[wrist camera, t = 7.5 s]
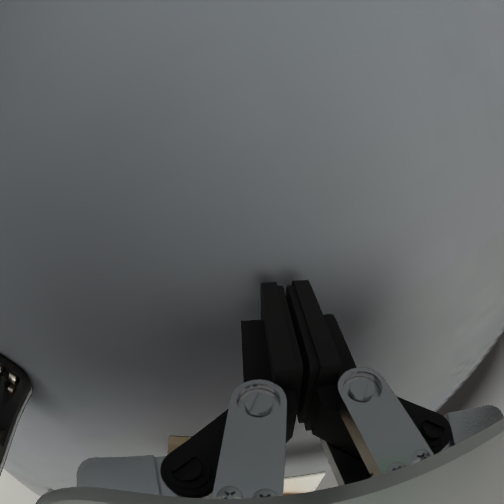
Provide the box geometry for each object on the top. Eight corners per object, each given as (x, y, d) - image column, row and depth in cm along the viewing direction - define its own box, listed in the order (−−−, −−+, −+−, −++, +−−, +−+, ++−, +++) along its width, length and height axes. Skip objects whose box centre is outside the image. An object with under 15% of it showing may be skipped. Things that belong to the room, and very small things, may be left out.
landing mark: (209, 481, 22) (209, 482, 22) (325, 471, 22) (325, 473, 22) (222, 502, 27) (222, 504, 27) (309, 496, 28) (309, 497, 27)
